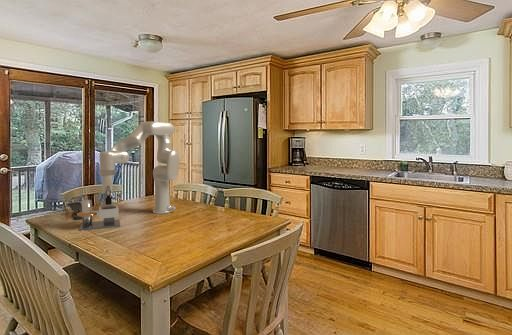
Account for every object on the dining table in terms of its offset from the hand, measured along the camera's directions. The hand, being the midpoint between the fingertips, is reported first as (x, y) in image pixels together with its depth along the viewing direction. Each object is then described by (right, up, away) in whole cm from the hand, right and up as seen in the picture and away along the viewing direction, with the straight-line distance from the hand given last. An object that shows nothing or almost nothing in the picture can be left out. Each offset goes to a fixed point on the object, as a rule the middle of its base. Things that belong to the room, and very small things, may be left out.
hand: (108, 202), depth 178 cm
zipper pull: (-30, -11, +22) cm, 38 cm away
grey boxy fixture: (-5, -13, -1) cm, 14 cm away
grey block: (0, -12, +1) cm, 12 cm away
